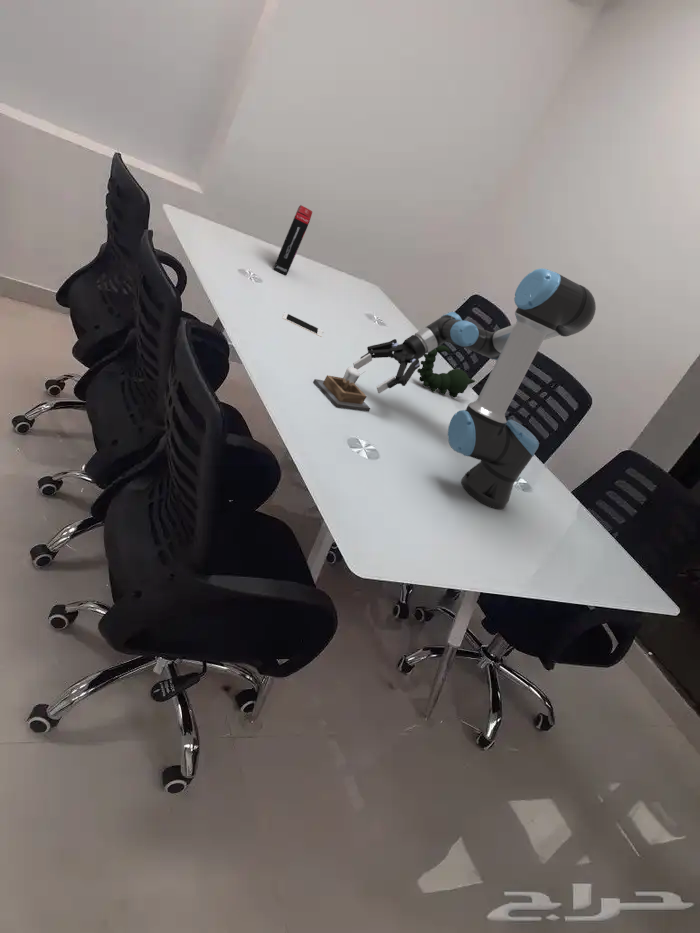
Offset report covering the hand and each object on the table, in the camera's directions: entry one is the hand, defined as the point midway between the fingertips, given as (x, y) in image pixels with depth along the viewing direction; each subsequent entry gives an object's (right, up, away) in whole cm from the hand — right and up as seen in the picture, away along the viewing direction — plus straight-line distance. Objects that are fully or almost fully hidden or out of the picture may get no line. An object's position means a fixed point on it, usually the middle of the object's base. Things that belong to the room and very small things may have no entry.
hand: (365, 378), depth 228 cm
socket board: (-8, -6, -1) cm, 10 cm away
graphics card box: (-36, +60, +93) cm, 116 cm away
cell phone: (-23, +25, +42) cm, 54 cm away
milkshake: (-7, -5, -2) cm, 9 cm away
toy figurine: (+29, +1, +51) cm, 59 cm away
